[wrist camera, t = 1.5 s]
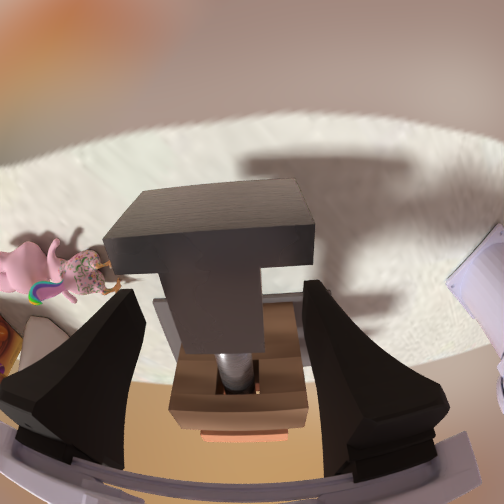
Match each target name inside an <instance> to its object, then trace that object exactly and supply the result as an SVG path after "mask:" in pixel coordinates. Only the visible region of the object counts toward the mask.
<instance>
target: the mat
mask: <svg viewBox="0 0 504 504" xmlns="http://www.w3.org/2000/svg"><path fill="white" fill-rule="evenodd" d="M327 291H328V292H329V293H330V295H331V291H330V290H327ZM262 299H263V303H277V302H292V301H293V307H294V313H295V320H296V326H297V332H298V338H299V345H300V351H301V358H302V365H303V367H304V366H311V363H310V359H309V355H308V351H307V347H306V343H305V339H304V331H303V324H302V303H303V292H301V293H287V294H271V295H262ZM153 305H154V308H155V310H156V313H157V316H158V318H159V321H160V323H161V326H162V328H163V331H164V333H165V336H166V338H167V341H168V343H169V346H170V348H171V350H172V353H173V355H174V357H175V360H176V362H177V361H178V356H179V352H180V347H181V340H180V337H179V334H178V332H177V329H176V326H175V323H174V320H173V317H172V315H171V312H170V309H169V306H168V303H167V300H166V299H154V300H153Z"/></svg>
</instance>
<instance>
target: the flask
mask: <svg viewBox="0 0 504 504" xmlns="http://www.w3.org/2000/svg"><path fill="white" fill-rule="evenodd" d="M68 338H69V336H68V335H67V334H66V333H65V332H64V331H62V330H61V329H60V328H59V327H58V326H56V325H55V324H54V323H53V322H52V321H50V320H49V319H48V318H43V317H35V316H31V317H30V318H29V320H28V322H27V323H26V326H25V330H24V336H23V343H22V350H21V356H20V363H19V370H18V372H19V371H21V370H23V369H24V368H26V367H28V366H30V365H32V364H33V363H35V362H37V361H38V360H40V359H42V358H43V357H44V356H46V355H47V354H49V353H50V352H52V351H53V350H55V349H56V348H57V347H59V346H60V345H61V344H62V343H64V342H65V341H66V340H67V339H68Z"/></svg>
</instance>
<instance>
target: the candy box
mask: <svg viewBox="0 0 504 504" xmlns="http://www.w3.org/2000/svg"><path fill="white" fill-rule="evenodd" d="M22 343H23V338H22V337H21V336H20V335H19V334H18V333H17V332H16V331H15V330H14V329H13V328H12V327H11V326H10V325H9V324H8V323H7V322H6V321H5V320H4V319H3V318H2V317H1V316H0V383H1V381H2V379H3V378H5V377H7V376H8V374H9V372H10V370H11V368H12V366H13V364H14V362H15V361H16V359H17V357H18V355H19V353H20V351H21V350H22Z"/></svg>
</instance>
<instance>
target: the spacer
mask: <svg viewBox="0 0 504 504" xmlns="http://www.w3.org/2000/svg"><path fill="white" fill-rule="evenodd" d="M255 387H256V391H260V389H259V383H255ZM224 395H226V394H225V390H224ZM200 435H201V437H202V438H203V440H204V441H206V442H265V441H266V442H267V441H284V440H287V437H288V429H275V430H252V431H216V430H201V433H200Z"/></svg>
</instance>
